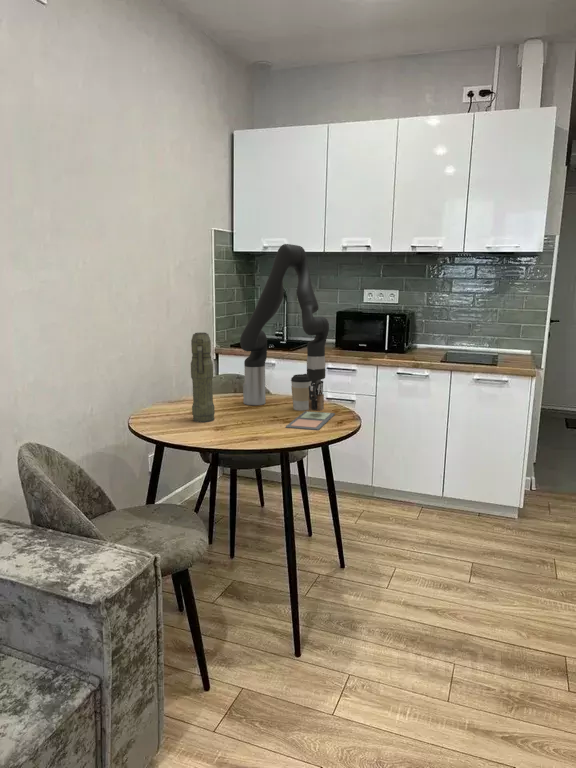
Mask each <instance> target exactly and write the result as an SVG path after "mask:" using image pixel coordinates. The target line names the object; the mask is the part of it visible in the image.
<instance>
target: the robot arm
mask: <svg viewBox="0 0 576 768" xmlns="http://www.w3.org/2000/svg"><path fill="white" fill-rule="evenodd" d="M289 268H291V269H292V268H293V269H294V271H295V273H296V275H297V278H298V280H297V281H298V282H297V288H296V296H297V297H296V298H297V302H298V304H299V307H300V310H301V321H302V323H301V325H302V330H303V332H304V333H305V334H306V335H308V336H314V339H311V341H308V343H307V346H306V347H307V348H306V350H307V351H306V353H307V354H306V355H307V358H306V374H307V378H308V379H311V384H310V386H309V399H310V400H312V401H311V406H312V410H317V396H318V395H319V394H324V393H323V392H324V379H326V348H325V346H326V342H327V338H328V335H329V332H330V323H329V321H328V319H327V317H324V316H313V314H315V313H316V312H318V311H319V307H320V306H319V304H318V300H317V298H316V295H315V291H314V288H313V285H312V281H311V280H312V279H311V274H310V269H309V262H308V256H307V253H306V250H305V249H304V248H303V246H300V245H298V244H291V243H283V244H281V245H280V246H279V248H278V250H277V252H276V255H275V257H274V260H273V264H272V268H271V270H270V273H269V275H268V278H267V281H266V283H265V285H264V287H263V290H262V292H261V294H260V296H259V298H258V301H257V304H256V306H255V309H254V311H253V312H252V314H251V317H250V319H249V321H248V323H247V325H246V326H245V327H244V330H243V331H242V333H241V335H240V337H239V338H240V340H239V344H240V348H241V349H242V350H243V351H245V352H250V353H249V355H248V357H246V358H245V359H244V382H242V390H243V391H242V392H243V393H242V394H243V401H242V402H243V404H244V405H247V406H262V405H265V404H266V361H267V358H268V338H267V335H266V333H265V332H264V331H263V328H264V327H265V325H266V324H267V323H268V322H269V321H270V320H271V319H272V318H273V317H274V316H275V315H276V313H277V312H278V310H279V309H280V307H281V305H282V302H283V299H284V296H285V295H284V293H285V292H284V277H285V275H286V272H287V270H288V269H289ZM313 395H314V397H313Z"/></svg>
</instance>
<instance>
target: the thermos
mask: <svg viewBox="0 0 576 768" xmlns="http://www.w3.org/2000/svg"><path fill="white" fill-rule="evenodd" d="M190 341H191V345H190V347H191V362H190V378H191V380H192V401H193V402H192V406H191V410H192V411H191V412H192V414H191V415H192V421H193V422H195V423H211V422H214V420H215V413H216V412H215V409H216V408H215V404H214V396H213V395H214V393H213V391H214V390H213V389H214V388H213V378H214V363H213V360H212V355H211V354H212V346H211V345H212V343H211V341H212V340H211V337H210V335H209V333H207V332H195V333H193V334H192V337H191V340H190Z"/></svg>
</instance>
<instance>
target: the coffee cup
mask: <svg viewBox="0 0 576 768" xmlns="http://www.w3.org/2000/svg"><path fill="white" fill-rule="evenodd" d="M290 383H291V385H290V386H291V399H292V405H293V407H292V409H293V410H295V411H302V412H304V411H309V386H310V384H311V379H308V378H307V373H301V374H299V373H298V374H293V375H292V377H291V379H290Z"/></svg>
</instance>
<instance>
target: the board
mask: <svg viewBox="0 0 576 768" xmlns="http://www.w3.org/2000/svg"><path fill="white" fill-rule="evenodd" d="M335 415H336V413H334V412H323V411H309V410H304V411H302V413H300V414H299V415H298V416H297V417H295V418H294V419H293V420H292V421H290V422H289V423H288V424H287V425H286V426H285V428H287V429H296V430H297V429H298V430H308V431H309V430H311V431H320V429H322V428H323V427H324V426H325V425H327V423H328V422H329V421H330V420H331V419H332V418H333V417H334V416H335Z"/></svg>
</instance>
